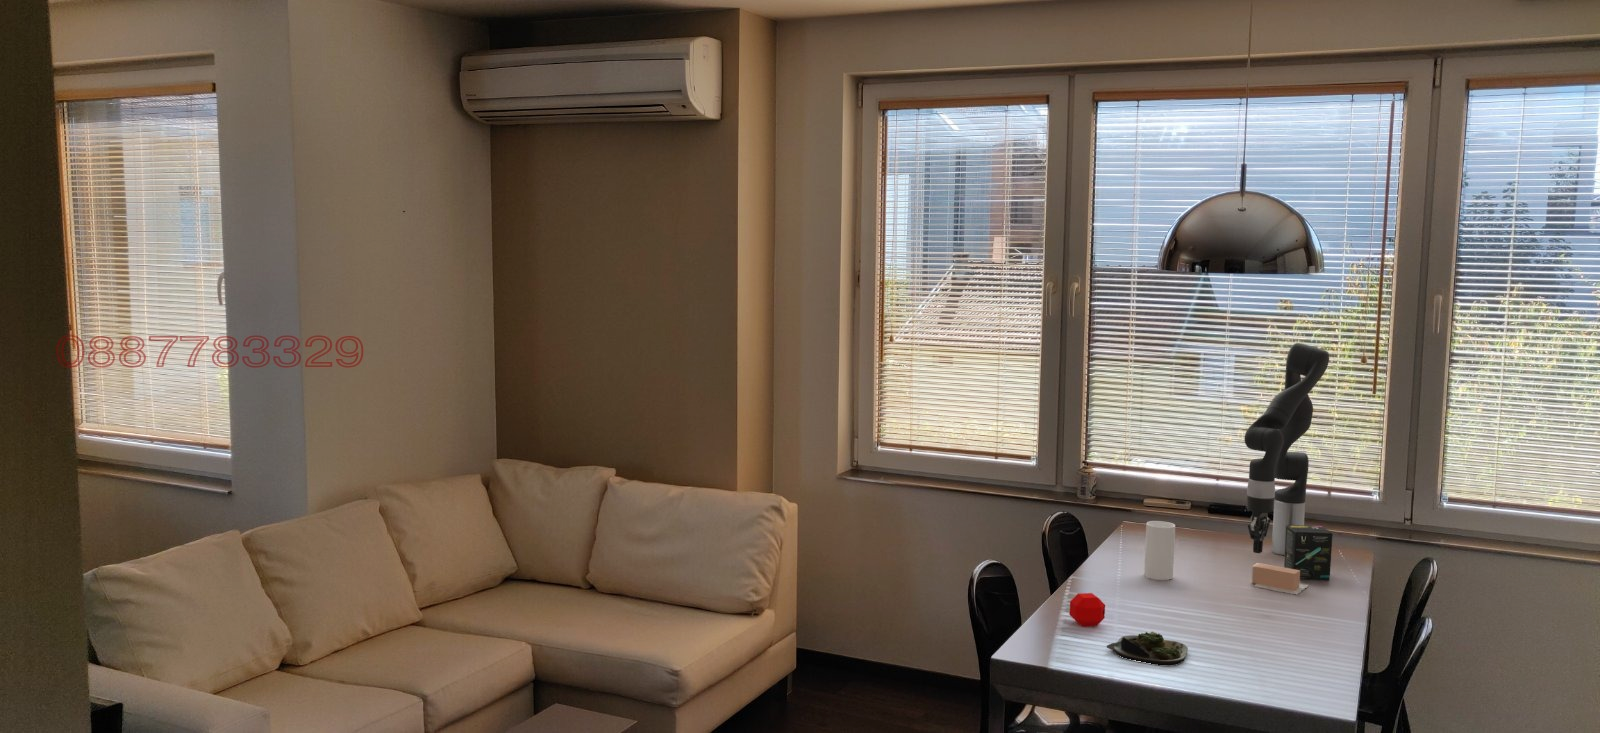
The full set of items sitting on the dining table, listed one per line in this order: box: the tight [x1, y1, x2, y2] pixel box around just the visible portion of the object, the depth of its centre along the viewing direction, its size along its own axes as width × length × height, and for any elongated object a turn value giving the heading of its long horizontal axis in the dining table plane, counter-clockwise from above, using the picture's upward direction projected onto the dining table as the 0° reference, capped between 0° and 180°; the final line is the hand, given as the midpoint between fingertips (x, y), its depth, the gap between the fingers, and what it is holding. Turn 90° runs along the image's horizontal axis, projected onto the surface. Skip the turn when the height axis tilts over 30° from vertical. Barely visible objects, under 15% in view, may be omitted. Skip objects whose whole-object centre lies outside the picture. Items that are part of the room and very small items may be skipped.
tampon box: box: [1283, 525, 1333, 581], centre depth 342 cm, size 11×9×15 cm
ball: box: [1069, 592, 1106, 628], centre depth 294 cm, size 8×8×8 cm
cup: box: [1143, 520, 1176, 581], centre depth 339 cm, size 8×8×16 cm
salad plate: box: [1106, 631, 1189, 666], centre depth 275 cm, size 19×18×5 cm
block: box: [1250, 562, 1301, 591], centre depth 331 cm, size 5×5×12 cm
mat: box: [1253, 583, 1309, 596], centre depth 331 cm, size 11×12×1 cm
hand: (1257, 552), depth 334 cm, fingers closed
